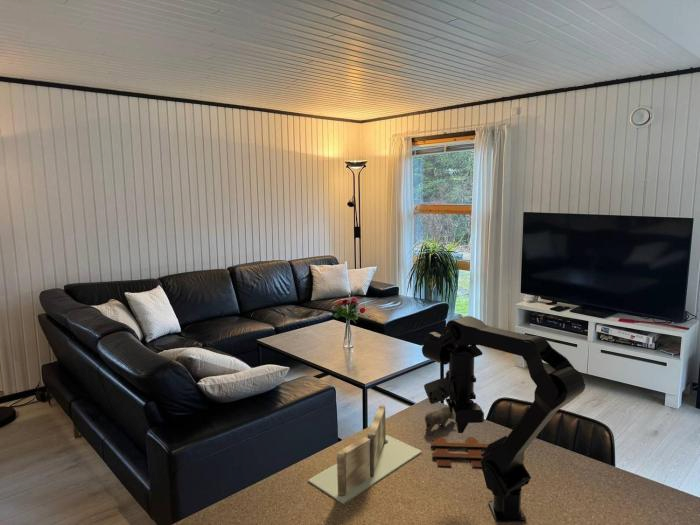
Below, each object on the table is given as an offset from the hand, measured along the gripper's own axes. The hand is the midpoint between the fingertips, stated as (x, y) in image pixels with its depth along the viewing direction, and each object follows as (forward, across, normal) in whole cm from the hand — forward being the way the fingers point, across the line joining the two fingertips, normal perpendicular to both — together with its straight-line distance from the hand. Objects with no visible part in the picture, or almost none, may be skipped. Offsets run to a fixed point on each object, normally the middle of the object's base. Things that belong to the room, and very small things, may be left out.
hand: (460, 432), depth 116 cm
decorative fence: (+14, -13, +7) cm, 20 cm away
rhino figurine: (+13, -27, +1) cm, 30 cm away
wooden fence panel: (+13, +1, -25) cm, 28 cm away
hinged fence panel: (+12, -12, -19) cm, 26 cm away
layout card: (+13, -7, -22) cm, 27 cm away
